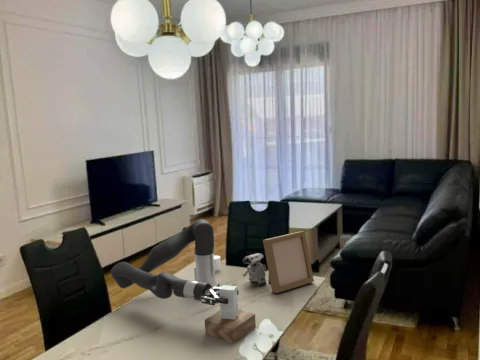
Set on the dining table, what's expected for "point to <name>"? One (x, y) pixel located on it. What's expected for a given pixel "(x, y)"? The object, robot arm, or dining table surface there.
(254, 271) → the figurine
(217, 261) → the white round piece
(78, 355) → the dining table surface
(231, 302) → the skincare box
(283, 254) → the photo frame
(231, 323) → the walnut block
